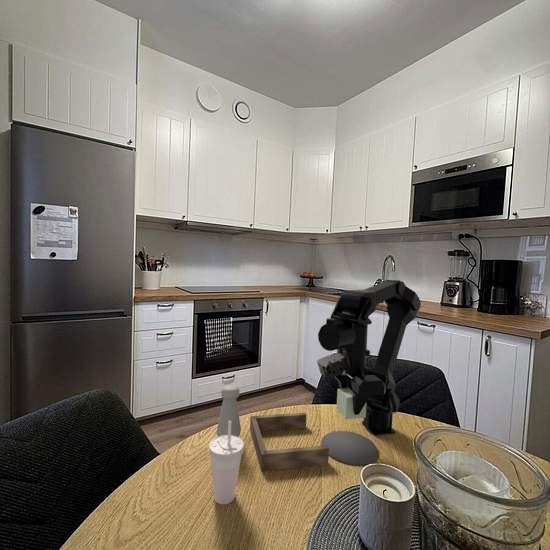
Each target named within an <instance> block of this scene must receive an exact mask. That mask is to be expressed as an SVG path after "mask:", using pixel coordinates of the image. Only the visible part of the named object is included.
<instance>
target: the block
mask: <svg viewBox="0 0 550 550" xmlns="http://www.w3.org/2000/svg"><path fill="white" fill-rule="evenodd" d="M336 394H337V396H336V410H337V411H338V413H339V414H340V415H341V416H342V417H343V418H344V419H345V420H351V419H352V420H354V419H364V418H366V404H365V405H364V407H363V408H362V410H361V412H360V413H359V415H355V414H354V411H353V397H352V392H351V391H350V390H349V389H348V388H345V389H340V388H337V391H336Z"/></svg>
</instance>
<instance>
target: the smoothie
mask: <svg viewBox="0 0 550 550" xmlns="http://www.w3.org/2000/svg"><path fill="white" fill-rule="evenodd" d="M244 450H245V443H244V440H242V438H241V437H240V436H239V437H236V436H232V435H231V421H228V435H223V436H219V437H218V436H216V437H214V438H213V439H211V440H210V442H209V444H208V450H207V452H208V454H209V456H210V466H211V476H212V477H211V478H212V488H213V489H212V490H213V499H214V501H215V503H217V504H218V505H228V504H230V503H232V502H233V501H234V499H235V497H236V491H237V490H236V489H237V486H238V485H237V484H238V478H239V472H240V466H241V460H242V455H243V453H244Z"/></svg>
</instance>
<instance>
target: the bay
mask: <svg viewBox="0 0 550 550" xmlns="http://www.w3.org/2000/svg"><path fill="white" fill-rule="evenodd" d="M306 428H307V413H306V412H297V413H295V412H293V413H292V412H291V413H281V414H280V413H278V414H276V413H275V414H264V415H263V414H262V415H251V416H250V421H249V432H250V435H251V439H252V442H253V446H254V450H255V454H256V458H257V461H258V465H259V469H260V472H266V471H267V472H268V471H277V470H286V469H295V468H296V469H297V468H305V467H314V466H323V465H329V458H330V456H329V448H328V446H327V445H323V446H321V445H316V446H315V445H314V446H313V445H312V446H303V447H290V448H280V449H269V450H268V449H266V446H265V442H264V440H263V436H262V433H261V432H267V431H268V432H269V431H282V430H283V431H285V430H295V429H297V430H298V429H306Z"/></svg>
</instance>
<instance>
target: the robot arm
mask: <svg viewBox="0 0 550 550" xmlns="http://www.w3.org/2000/svg"><path fill="white" fill-rule="evenodd" d="M384 302H385V304H386V311H387V316H388V320H387V321H388V322H387V324H386V328H385V331H384V334H383V338H382V340H381V343H380V347H379V350H378V353H377V356H376V359H375V362H374V365H373V366H372V367H371V368H369V367H368V366H366V365H367V356H371V350H369V349H368V348H367V347H368V329H369V327H368V326H369V325H372V323H373V322H372V320H371V319H370V318H369V317H371V315H372V314H374V312H375V311H376V308H377V306H378V305H379V304H382V303H384ZM421 304H422V303H421V299H420V297H419V296H418V293H416V292H415V290H414V289H411V288H409V287H408V286H407V285H406V284H405V283H404V281H401V280H398V279H397V280H396V279H386V280H384V281H383V282H380V283H377V284H375V285H372V286H370V287H368V288H365V289H347V290H344V291H342V292H341V295H340V296H339V298H338V300H337V303H336V304H335V306H334V308H333V310H332V312H331V314H330V317H328V318H326V322H325V324H322V326H321V327H319V328H320V329H319V331H318V333H317V339H318V341H319V345H320V346H321V348H323V349H324V350H326V351H328V352H333V351H336V353H331V354H329V355H326V356H324V357H321V358H319V359H317V360H316V363H317V365H318V369H319V373H320V375H322V376H323V377H324V379H328V380H329V379H332V378H335V379H336V380H337V381H338V384H339V389H345V388H348V389H349V390H350V391H351V392H352V397H353V411H354V414H355V415H359V413H360V412H361V410H362V408H363V407H364V405H365V404H366V418H363V420H362V421H361V424H362V425H363V426H364V427H365V428H366V429H367V430H368V431H369V432H370V433H371V434H372V436H379V435H393V434H396V430H395V429H394V428H393V413H395V414H396V413H398V410H399V407H400V402H401V401H400V399H399V397H398V396H397V394H396V392H395V391H396V383H395V379H394V377H393V372H394V368H395V365H396V361H397V358H398V355H399V352H400V349H401V345H402V342H403V338H404V335H405V332H406V329H407V325H408V324H410V323H411V322H413V320H415V319H416V318H417V317H416V316H417V314H418V312H419V311H420V309H421Z"/></svg>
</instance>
